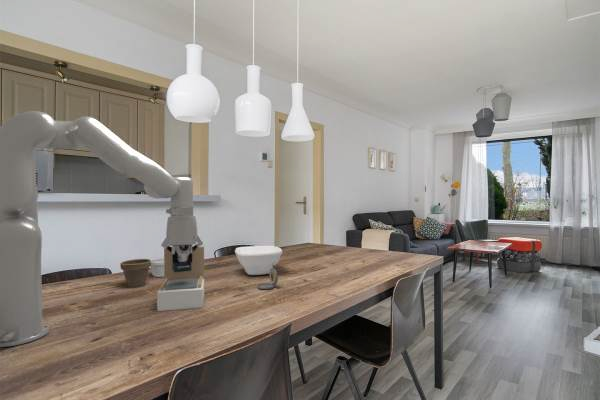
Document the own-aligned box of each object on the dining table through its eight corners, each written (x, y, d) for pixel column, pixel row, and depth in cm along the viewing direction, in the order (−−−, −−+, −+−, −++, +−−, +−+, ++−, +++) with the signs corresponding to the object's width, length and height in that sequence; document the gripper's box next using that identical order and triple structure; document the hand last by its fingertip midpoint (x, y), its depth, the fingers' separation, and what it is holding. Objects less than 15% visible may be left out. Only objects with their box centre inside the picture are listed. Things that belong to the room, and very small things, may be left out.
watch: (175, 273, 111) (175, 241, 111) (171, 268, 118) (171, 238, 118) (192, 271, 114) (193, 240, 114) (187, 266, 121) (187, 237, 121)
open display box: (202, 307, 110) (202, 253, 110) (157, 311, 107) (156, 255, 106) (204, 293, 126) (204, 246, 125) (165, 296, 122) (164, 247, 122)
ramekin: (166, 270, 165) (166, 256, 165) (186, 273, 159) (186, 258, 159) (143, 276, 153) (143, 261, 153) (164, 279, 147) (164, 263, 147)
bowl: (237, 281, 144) (237, 254, 144) (233, 269, 165) (233, 246, 165) (286, 277, 150) (286, 252, 150) (276, 267, 171) (276, 244, 171)
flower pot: (113, 287, 133) (113, 263, 133) (135, 280, 144) (135, 257, 144) (136, 290, 130) (136, 264, 130) (157, 282, 141) (157, 259, 141)
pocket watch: (254, 288, 132) (253, 263, 132) (265, 283, 139) (265, 260, 139) (271, 291, 128) (271, 266, 128) (282, 286, 135) (282, 262, 135)
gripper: (154, 213, 110) (155, 268, 110) (206, 212, 114) (206, 265, 114) (158, 212, 117) (159, 263, 117) (207, 211, 121) (207, 261, 122)
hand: (182, 263), depth 116 cm, fingers closed on watch, 3 cm apart
